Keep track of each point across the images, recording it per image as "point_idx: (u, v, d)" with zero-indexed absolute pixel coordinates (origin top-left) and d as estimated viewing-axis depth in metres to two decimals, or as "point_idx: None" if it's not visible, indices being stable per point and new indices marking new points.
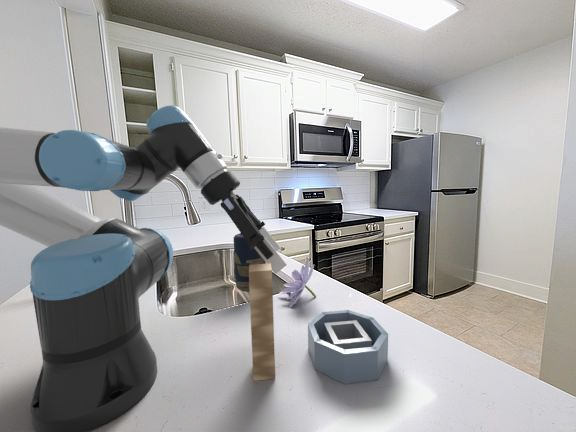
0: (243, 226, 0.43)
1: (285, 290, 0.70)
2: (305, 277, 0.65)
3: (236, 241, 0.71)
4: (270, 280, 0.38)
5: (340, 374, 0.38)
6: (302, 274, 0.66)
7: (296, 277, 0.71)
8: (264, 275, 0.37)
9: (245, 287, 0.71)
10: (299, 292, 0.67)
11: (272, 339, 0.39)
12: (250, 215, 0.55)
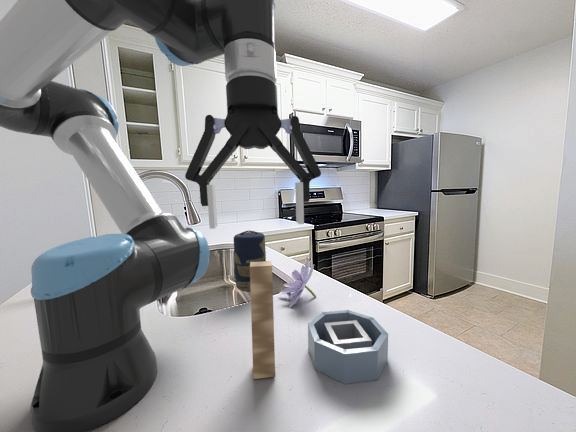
0: None
1: (285, 290, 0.70)
2: (305, 277, 0.65)
3: (236, 241, 0.71)
4: (270, 275, 0.39)
5: (340, 374, 0.38)
6: (302, 274, 0.66)
7: (296, 277, 0.71)
8: (264, 270, 0.39)
9: (245, 287, 0.71)
10: (299, 292, 0.67)
11: (272, 335, 0.39)
12: (280, 154, 0.37)
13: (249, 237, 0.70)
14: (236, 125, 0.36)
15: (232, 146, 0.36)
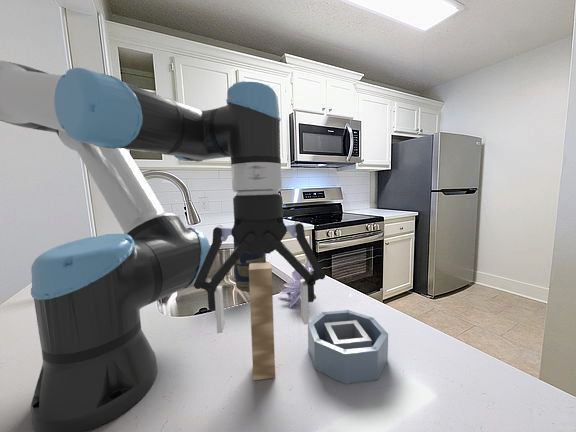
0: None
1: (285, 290, 0.70)
2: None
3: (236, 241, 0.71)
4: (270, 278, 0.38)
5: (340, 374, 0.38)
6: None
7: (296, 277, 0.71)
8: (264, 273, 0.38)
9: (245, 287, 0.71)
10: (299, 292, 0.67)
11: (272, 337, 0.39)
12: (285, 259, 0.38)
13: None
14: (243, 235, 0.37)
15: (239, 256, 0.37)
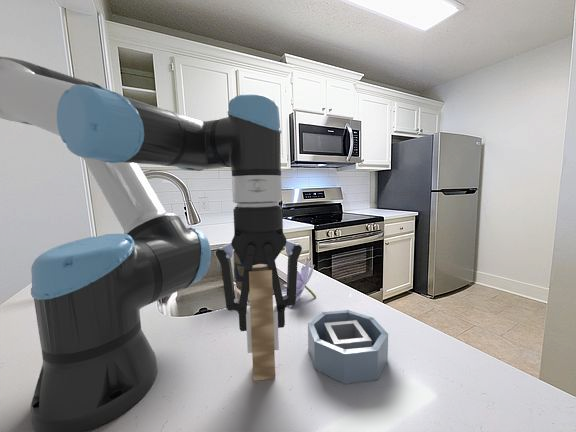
0: None
1: (285, 290, 0.69)
2: (305, 277, 0.65)
3: None
4: (270, 280, 0.38)
5: (340, 374, 0.38)
6: (302, 274, 0.65)
7: None
8: (264, 275, 0.37)
9: None
10: (299, 292, 0.67)
11: (272, 339, 0.39)
12: None
13: None
14: (244, 244, 0.37)
15: (250, 270, 0.37)
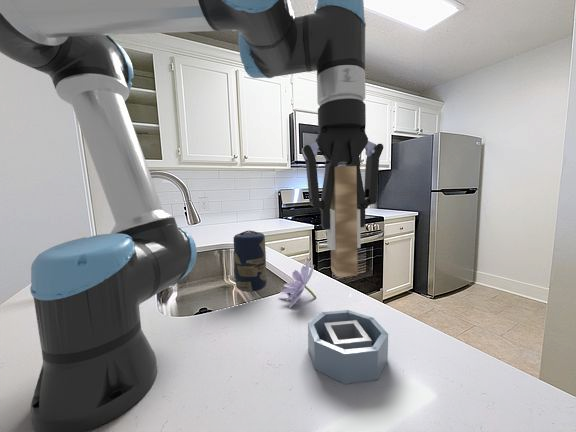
0: (309, 184, 0.40)
1: (285, 290, 0.69)
2: (305, 278, 0.65)
3: (236, 241, 0.71)
4: (355, 176, 0.39)
5: (340, 374, 0.38)
6: (302, 275, 0.65)
7: (296, 277, 0.70)
8: (349, 170, 0.39)
9: (245, 287, 0.71)
10: (299, 293, 0.67)
11: (355, 235, 0.40)
12: None
13: (249, 237, 0.70)
14: (329, 141, 0.39)
15: (336, 166, 0.39)
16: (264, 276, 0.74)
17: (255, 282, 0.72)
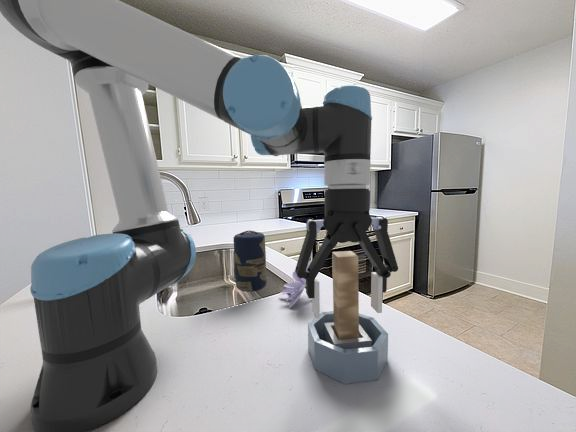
0: (301, 254, 0.42)
1: (285, 291, 0.69)
2: None
3: (236, 241, 0.71)
4: (356, 265, 0.41)
5: (340, 374, 0.38)
6: None
7: (296, 278, 0.70)
8: (351, 260, 0.41)
9: (245, 287, 0.71)
10: (299, 293, 0.66)
11: (357, 320, 0.42)
12: (366, 250, 0.42)
13: (249, 237, 0.70)
14: (335, 225, 0.41)
15: (334, 246, 0.41)
16: (264, 276, 0.74)
17: (255, 282, 0.72)
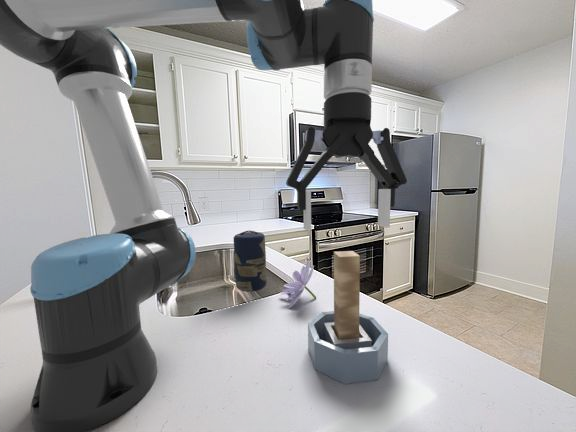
0: (295, 164, 0.40)
1: (285, 291, 0.69)
2: (305, 278, 0.64)
3: (236, 241, 0.71)
4: (358, 265, 0.41)
5: (340, 374, 0.38)
6: (302, 275, 0.65)
7: (296, 278, 0.70)
8: (352, 260, 0.41)
9: (245, 287, 0.71)
10: (299, 293, 0.66)
11: (357, 319, 0.42)
12: (371, 163, 0.41)
13: (249, 237, 0.70)
14: (334, 136, 0.39)
15: (331, 156, 0.39)
16: (264, 276, 0.74)
17: (255, 282, 0.72)
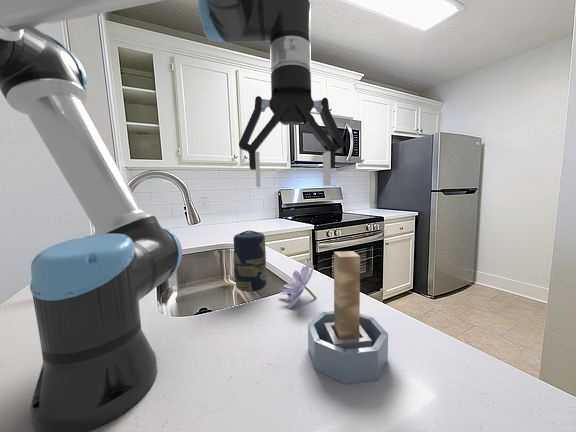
0: None
1: (285, 291, 0.69)
2: (305, 278, 0.64)
3: (236, 241, 0.71)
4: (358, 265, 0.41)
5: (340, 374, 0.38)
6: (302, 275, 0.65)
7: (296, 278, 0.70)
8: (353, 260, 0.41)
9: (245, 287, 0.71)
10: (299, 293, 0.66)
11: (358, 320, 0.42)
12: (312, 129, 0.47)
13: (249, 237, 0.70)
14: (279, 104, 0.45)
15: (276, 121, 0.45)
16: (264, 276, 0.74)
17: (255, 282, 0.72)
